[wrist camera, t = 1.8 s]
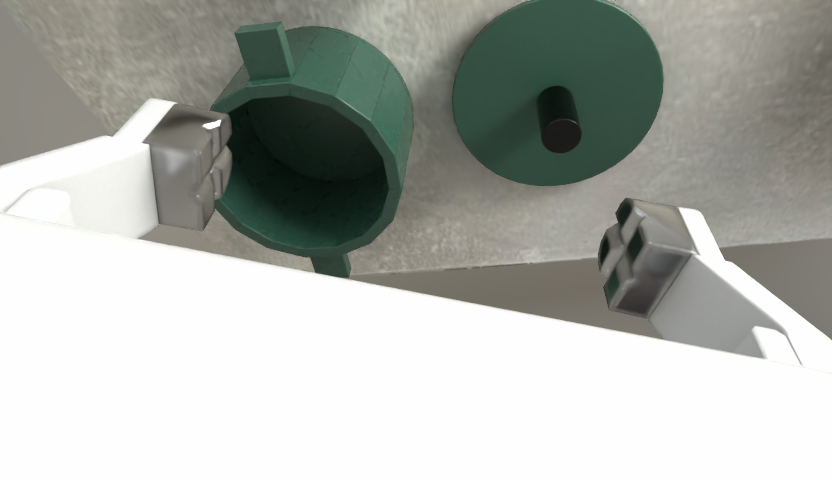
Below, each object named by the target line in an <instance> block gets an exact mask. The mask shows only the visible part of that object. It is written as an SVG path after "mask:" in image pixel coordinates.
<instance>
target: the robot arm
mask: <svg viewBox="0 0 832 480" xmlns="http://www.w3.org/2000/svg"><path fill="white" fill-rule="evenodd" d="M231 135H232V131H231V119H230V117H229V115H228V114H224V113H220V112H215V111H211V110H206V109H202V108H198V107H193V106H189V105H184V104H180V103H179V104H178V103H176V102H172V101H167V100H161V99H156V98H149V99H147V100H146V101H145V102H144V103H143V104H142V106H141V107H140V108H139V109H138V110H137V111H136V112H135V113H134V114H133V115H132V116H131V117H130V118H129V119H128V120H127V122H126V123H125V124H124V125H123V126H122V127H121V128H120V129H119V130H118V131H117V132H116V133H115V134H114V135H113V136H112V137H110V136H100V137H97V138H94V139H90V140H87V141H83V142H80V143H77V144H73V145H70V146H66V147H63V148H60V149H56V150H53V151H49V152H46V153H42V154H39V155H35V156H32V157H28V158H26V159H22V160H18V161H15V162H11V163H8V164H4V165H1V166H0V480H832V341H831V340H830V339H829V338H828V337H827V336H825V335H824V334H823V333H821V332H820V331H819V330H818V329H817V328H815V327H814V326H813V325H811V324H810V323H809V322H807V321H806V320H805V319H804V318H803V317H801V316H800V315H799V314H797V313H796V312H795V311H794V310H792V309H791V308H790V307H788V306H787V305H786V304H785V303H783V302H782V301H781V300H779V299H778V298H777V297H776V296H774V295H773V294H772V293H771V292H769V291H768V290H767V289H765V288H764V287H763V286H761V285H760V284H759V283H758V282H757V281H755V280H754V279H753V278H751V277H750V276H749V275H748V274H746V273H745V272H744V271H742V270H741V269H740V268H739V267H737V266H736V265H735V264H734V263H732V262H728V261H725V260H724V258H723V256H722V254H721V252H720V250H719V248H718V246H717V244H716V242H715V240H714V238H713V236H712V234H711V231H710V229H709V227H708V225H707V223H706V221H705V219H704V217H703V215H702V213H700V212H699V211H697V210H694V209H688V208H682V207H676V206H670V205H664V204H659V203H653V202H648V201H642V200H637V199H631V198H625V199H624V200H623V202H622V203H621V204H620V206H619V207H618V209H617V211H616V217H617V221H618V223H617V224H615V225H614V226H612V227H610V228H608V229H607V230H606V232H605V234H604V236H603V238H602V240H601V243H600V248H599V252H598V265H599V270H600V273H601V274H602V275H603V276H605V278H606V279H607V281H606V283H605V285H604V287H603V288H604V292H605V296H606V300H607V304H608V308H609V310H611V311H615V312H620V313H624V314H629V315H634V316H638V317H642V318H647V319H648V321H649V323H650V324H651V325H652V326H653V327H654V329H655V330H656V331H657V332H658V333H659V335H660V336H661V337H662V339H663V340H662V339H657V338H652V337H647V336H641V335H636V334H631V333H626V332H620V331H615V330H610V329H604V328H600V327H594V326H589V325H584V324H579V323H573V322H568V321H563V320H558V319H552V318H547V317H542V316H537V315H532V314H527V313H521V312H516V311H511V310H506V309H500V308H495V307H490V306H484V305H480V304H474V303H469V302H464V301H458V300H453V299H448V298H443V297H438V296H433V295H427V294H422V293H417V292H412V291H406V290H401V289H396V288H391V287H386V286H381V285H375V284H370V283H365V282H359V281H354V280H349V279H344V278H339V277H334V276H328V275H323V274H318V273H313V272H308V271H302V270H297V269H292V268H287V267H282V266H276V265H271V264H266V263H261V262H255V261H250V260H245V259H240V258H235V257H229V256H224V255H219V254H214V253H208V252H203V251H198V250H193V249H188V248H183V247H177V246H172V245H167V244H162V243H156V242H151V241H145V240H140V239H138V238H139V237H141V236H143V235H144V234H146V233H148V232H149V231H151V230H153V229H155V228H156V227H158V226H159V224H163V225H168V226H174V227H180V228H186V229H192V230H198V231H203V230H204V229H205V227H206V225H207V223H208V222H209V220H210V218H211V216H212V215H213V213H214V211H215V203H214V201H215V200H217V199H219V198H221V197H223V195H224V193H225V191H226V189H227V187H228V183H229V180H230V176H231V169H232V153H231V151H230V150H229V149H228V147H227V146H226V143H227V141H228V140H229V138H230V136H231Z"/></svg>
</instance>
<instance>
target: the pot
mask: <svg viewBox="0 0 832 480" xmlns="http://www.w3.org/2000/svg"><path fill="white" fill-rule="evenodd" d="M235 36H236V39H237V42H238V45H239V48H240V51H241V54H242V57H243V60H244V64H243V65H242V67H241V68H240V69H239V71H238V72H237V73H236V75H235V76H234V77H233V79H232V80H231V81H230V83H229V84H228V85H227V87H226V88H225V89H224V91H223V92H222V93H221V95H220V96H219V97H218V99H217V100H216V101H215V103H214V104H213V105H212V107H211V109H210V110H211V111H215V112H220V113H224V114H228V115H229V117H230V119H231V131H232V135H231V136H230V138H229V140H228V141H227V143H226V146H227V147H228V149H229V150H230V151H231V153H232V169H231V176H230V180H229V183H228V187H227V189H226V191H225V193H224V195H223V197H221V198H219V199H217V200H215V201H214V203H215V209H216V210H217V211H218V212H219V213H220V214H221V215H222V216H223V217H224V218H225V219H226V220H227V221H228V222H229V224H230V225H231V226H232V227H233V228H234V229H235V230H237V231H239V232H240V233H242V234H244V235H246V236H247V237H249V238H251V239H253V240H254V241H256V242H258V243H260V244H261V245H263V246H265V247H267V248H270V249H274V250H278V251H282V252H286V253H290V254H294V255H298V256H302V257H310V258H311V261H312V264H313V267H314V270H315V273H318V274H323V275H328V276H334V277H339V278H348V277H349V276H350V272H351V265H350V262H349V258H348V255H347V253H348V252H350V251H353V250H355V249H358V248H360V247H363V246H365V245H368V244H370V243H371V242H372V241H373V240H374V239H375V238H376V237H377V236H378V235H379V234H380V233H381V232H382V231H383V230H384V229H385V228H386V227H387V226H388V225H389V224H390V223H391V222H392V221H393V219H394V216H395V212H396V209H397V206H398V202H399V199H400V196H401V193H402V188H403V183H404V177H405V172H406V167H407V161H408V156H409V150H410V145H411V140H412V134H413V129H414V122H413V108H412V103H411V98H410V95H409V92H408V89H407V87H406V84H405V82H404V81H403V79H402V77H401V75H400V74H399V72H398V71H397V69H396V68H395V67H394V65H393V64H392V63H391V62H390V61H389V60H388V59H387V57H386V56H385V55H383V54H382V53H381V52H380V51H379V50H378V49H376V48H375V47H374V46H372V45H371V44H369V43H368V42H366V41H365V40H363V39H361V38H359V37H357V36H355V35H353V34H350V33H347V32H344V31H342V30H337V29H333V28H329V27H318V26H311V27H299V28H294V29H290V30H287V31H284V27H283V23H282V22H273V23H264V24H255V25H246V26H240V27H239V28H238V29H237V31H236V32H235Z"/></svg>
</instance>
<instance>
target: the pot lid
mask: <svg viewBox="0 0 832 480" xmlns="http://www.w3.org/2000/svg"><path fill="white" fill-rule="evenodd" d="M663 81H664V80H663V68H662V64H661V60H660V56H659V53H658V51H657V48H656V46H655V44H654V42H653V40H652V38H651V37H650V35H649V34H648V32H647V31H646V29H645V28H644V27H643V26H642V25H641V24H640V22H639V21H638V20H637V19H636V18H634V17H633V16H632V15H631V14H629V13H628V12H627V11H626V10H624V9H622V8H620V7H619V6H617V5H615V4H613V3H611V2H608V1H606V0H530V1H526V2H524V3H522V4H520V5H517V6H515V7H513V8H511V9H509V10H508V11H506V12H504V13H503V14H501V15H500V16H498V17H497V18H496V19H494V20H493V21H492V22H491V23H489V24H488V25H487V26H486V27H485V28H484V29H483V30H482V31H481V32H480V33H479V34H478V35H477V36H476V38H475V39H474V40H473V42H472V43H471V44H470V46H469V47H468V49H467V51H466V52H465V54H464V56H463V58H462V60H461V62H460V65H459V67H458V70H457V73H456V77H455V81H454V88H453V97H452V100H453V114H454V119H455V123H456V126H457V129H458V132H459V134H460V136H461V138H462V140H463V142H464V144H465V145H466V147H467V148H468V149H469V151H470V152H471V153H472V154H473V155H474V156H475V158H476V159H477V160H478V161H479V162H481V163H482V164H483V165H484V166H486V167H487V168H488V169H490V170H491V171H493V172H495V173H496V174H498V175H500V176H502V177H505V178H507V179H510V180H513V181H516V182H519V183H524V184H528V185H537V186H557V185H566V184H570V183H575V182H579V181H582V180H585V179H588V178H591V177H593V176H596V175H598V174H600V173H602V172H604V171H606V170H608V169H609V168H611V167H613V166H614V165H616V164H617V163H618V162H620V161H621V160H623V159H624V158H625V157H626V156H627V155H628V154H629V153H631V152H632V151H633V150H634V149H635V148H636V146H637V145H638V144H639V143H640V142H641V141H642V139H643V138H644V137H645V135H646V134H647V132H648V131H649V129H650V127H651V125H652V124H653V122H654V120H655V118H656V115H657V112H658V110H659V107H660V103H661V98H662V94H663Z"/></svg>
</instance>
